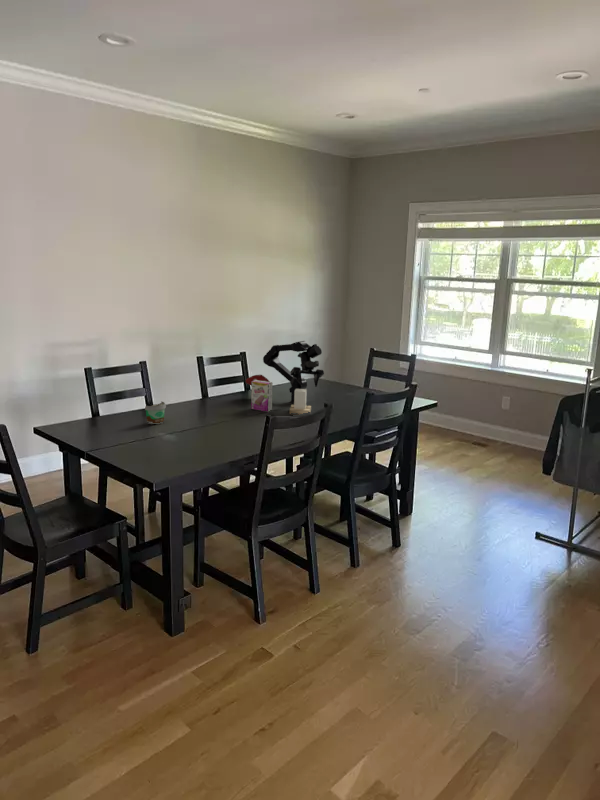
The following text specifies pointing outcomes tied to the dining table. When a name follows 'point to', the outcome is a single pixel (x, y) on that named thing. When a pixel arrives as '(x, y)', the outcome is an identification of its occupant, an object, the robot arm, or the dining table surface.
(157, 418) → the food container
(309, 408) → the oak block
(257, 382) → the candy bar box
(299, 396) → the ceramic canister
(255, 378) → the decorative mushroom
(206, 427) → the dining table surface
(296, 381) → the robot arm
